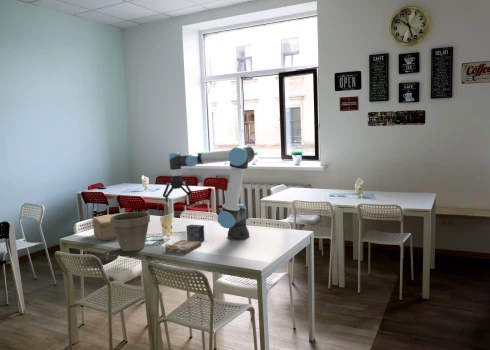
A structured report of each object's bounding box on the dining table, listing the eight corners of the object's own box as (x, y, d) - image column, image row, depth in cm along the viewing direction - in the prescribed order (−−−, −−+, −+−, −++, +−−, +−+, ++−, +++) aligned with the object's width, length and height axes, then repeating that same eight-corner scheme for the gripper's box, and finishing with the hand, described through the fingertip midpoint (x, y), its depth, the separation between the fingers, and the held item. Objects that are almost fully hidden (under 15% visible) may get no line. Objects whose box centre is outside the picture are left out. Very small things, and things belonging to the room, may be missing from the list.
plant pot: (105, 249, 269) (102, 216, 266) (137, 240, 287) (135, 209, 284) (126, 256, 252) (123, 221, 249) (159, 246, 270) (157, 214, 268)
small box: (205, 240, 282) (204, 225, 281) (200, 242, 276) (199, 227, 275) (191, 238, 287) (191, 223, 285) (186, 241, 281) (185, 226, 280)
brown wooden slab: (201, 245, 270) (200, 238, 269) (185, 254, 253) (185, 246, 253) (181, 243, 276) (181, 236, 275) (165, 251, 259) (164, 244, 259)
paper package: (128, 228, 323) (127, 211, 321) (139, 235, 301) (138, 216, 300) (92, 234, 308) (90, 216, 306) (101, 242, 287) (99, 222, 285)
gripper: (192, 173, 292) (194, 202, 295) (156, 176, 283) (159, 206, 286) (195, 174, 285) (197, 204, 288) (158, 177, 276) (161, 208, 279)
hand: (178, 205), depth 287 cm, fingers open, 13 cm apart
